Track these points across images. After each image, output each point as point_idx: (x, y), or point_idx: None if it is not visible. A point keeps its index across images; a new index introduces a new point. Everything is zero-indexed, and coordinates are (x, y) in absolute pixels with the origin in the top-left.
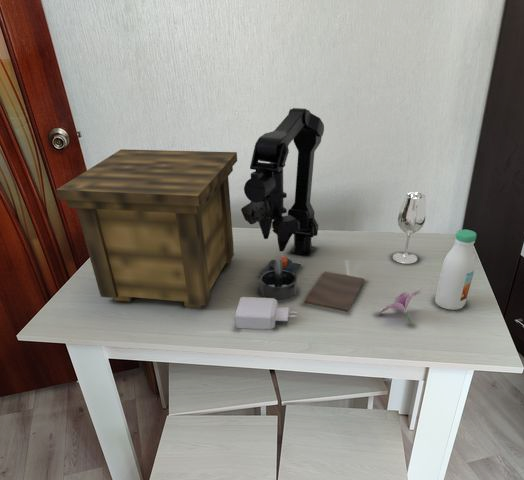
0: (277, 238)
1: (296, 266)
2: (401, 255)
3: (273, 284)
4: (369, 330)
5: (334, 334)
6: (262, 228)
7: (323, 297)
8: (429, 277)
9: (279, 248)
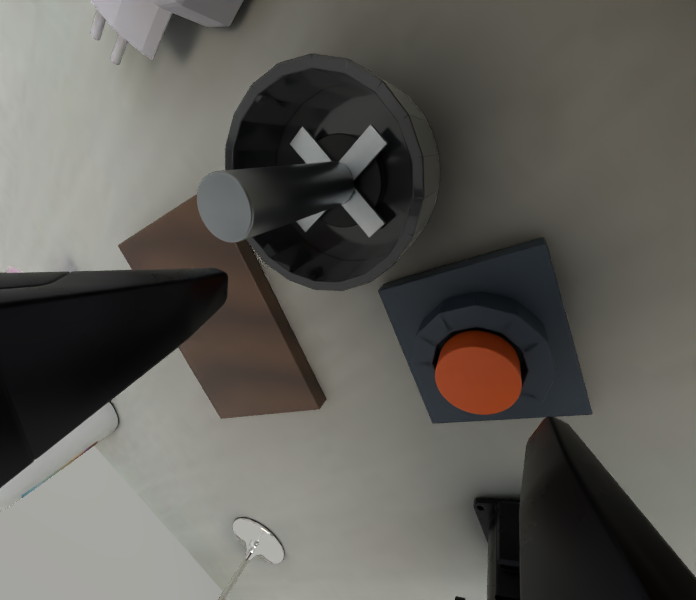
0: (49, 294)
1: (430, 397)
2: (259, 546)
3: (379, 187)
4: (59, 213)
5: (62, 120)
6: (619, 564)
7: (194, 256)
8: (178, 478)
9: (189, 271)
